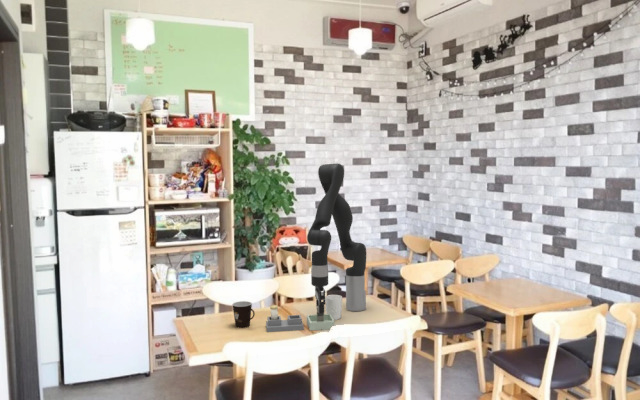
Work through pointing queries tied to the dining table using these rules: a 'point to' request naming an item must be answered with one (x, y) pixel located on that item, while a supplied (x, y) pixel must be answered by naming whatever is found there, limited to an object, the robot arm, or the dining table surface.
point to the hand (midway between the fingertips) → (320, 310)
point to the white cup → (334, 306)
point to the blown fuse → (319, 315)
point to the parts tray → (320, 325)
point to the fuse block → (285, 324)
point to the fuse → (274, 312)
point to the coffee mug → (242, 313)
